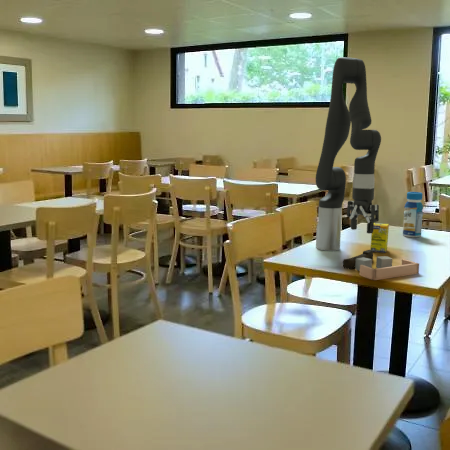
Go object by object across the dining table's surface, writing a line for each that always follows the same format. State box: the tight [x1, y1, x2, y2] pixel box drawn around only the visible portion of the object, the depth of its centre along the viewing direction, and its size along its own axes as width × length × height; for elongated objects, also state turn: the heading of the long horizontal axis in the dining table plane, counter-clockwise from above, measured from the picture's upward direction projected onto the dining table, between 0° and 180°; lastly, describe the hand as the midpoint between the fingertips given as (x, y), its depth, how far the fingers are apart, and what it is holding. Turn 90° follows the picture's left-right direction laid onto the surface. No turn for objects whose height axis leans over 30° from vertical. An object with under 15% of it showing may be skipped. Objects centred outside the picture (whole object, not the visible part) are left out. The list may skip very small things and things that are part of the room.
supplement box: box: [369, 222, 390, 254], centre depth 229 cm, size 6×6×11 cm
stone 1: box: [354, 257, 373, 272], centre depth 200 cm, size 4×4×4 cm
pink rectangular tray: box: [359, 258, 420, 281], centre depth 194 cm, size 7×20×4 cm, turn 117°
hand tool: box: [342, 249, 374, 270], centre depth 207 cm, size 19×4×5 cm, turn 136°
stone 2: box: [375, 255, 393, 269], centre depth 202 cm, size 4×4×4 cm
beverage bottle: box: [402, 191, 424, 238], centre depth 261 cm, size 8×8×20 cm
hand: (361, 231), depth 206 cm, fingers open, 8 cm apart
